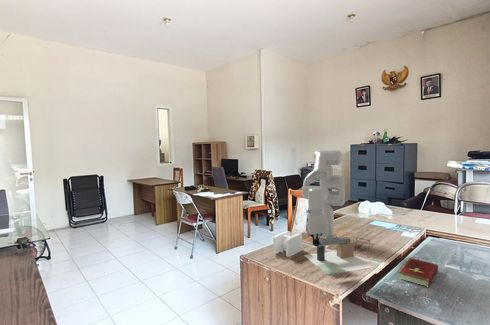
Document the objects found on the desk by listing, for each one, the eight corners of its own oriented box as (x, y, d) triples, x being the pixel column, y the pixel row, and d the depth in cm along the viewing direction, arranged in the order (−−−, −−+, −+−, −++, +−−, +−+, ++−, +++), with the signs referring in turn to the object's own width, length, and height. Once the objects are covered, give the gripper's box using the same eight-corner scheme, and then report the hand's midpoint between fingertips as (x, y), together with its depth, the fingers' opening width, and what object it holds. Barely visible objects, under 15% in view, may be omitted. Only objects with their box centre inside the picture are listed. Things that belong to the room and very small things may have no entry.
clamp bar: (317, 244, 146) (317, 240, 146) (346, 240, 150) (346, 237, 150) (320, 246, 143) (320, 242, 143) (350, 242, 148) (350, 238, 147)
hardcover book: (437, 272, 132) (438, 263, 132) (429, 289, 117) (429, 279, 117) (410, 265, 141) (410, 257, 140) (398, 280, 126) (398, 271, 125)
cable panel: (303, 257, 151) (303, 241, 151) (344, 252, 158) (344, 236, 157) (327, 277, 128) (327, 258, 128) (373, 270, 135) (373, 252, 134)
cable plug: (315, 258, 147) (315, 246, 146) (322, 257, 148) (322, 245, 147) (319, 261, 143) (319, 248, 142) (326, 260, 144) (326, 247, 143)
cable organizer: (287, 260, 149) (287, 239, 148) (272, 255, 156) (272, 235, 155) (302, 252, 159) (302, 233, 158) (288, 248, 167) (288, 229, 166)
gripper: (306, 214, 137) (306, 249, 138) (332, 212, 141) (332, 246, 142) (299, 211, 145) (299, 244, 146) (324, 208, 148) (324, 241, 149)
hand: (315, 245), depth 144 cm, fingers closed
